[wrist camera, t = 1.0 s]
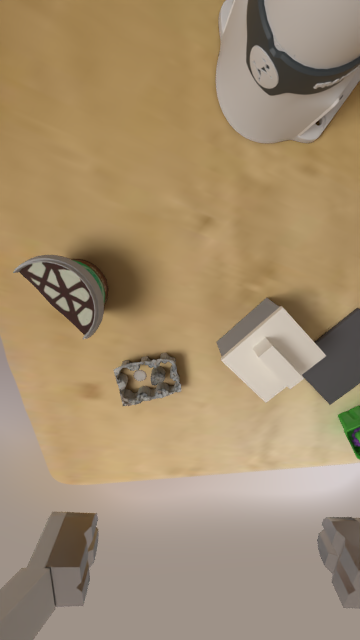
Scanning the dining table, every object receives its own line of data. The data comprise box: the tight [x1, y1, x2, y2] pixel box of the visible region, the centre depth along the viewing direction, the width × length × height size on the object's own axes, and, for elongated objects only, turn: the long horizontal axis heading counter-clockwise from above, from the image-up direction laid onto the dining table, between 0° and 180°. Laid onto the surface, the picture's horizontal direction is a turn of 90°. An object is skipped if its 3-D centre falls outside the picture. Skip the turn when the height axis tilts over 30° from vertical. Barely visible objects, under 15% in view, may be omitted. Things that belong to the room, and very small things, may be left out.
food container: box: [13, 255, 108, 339], centre depth 37 cm, size 12×6×10 cm, turn 40°
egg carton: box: [114, 353, 181, 406], centre depth 46 cm, size 11×8×4 cm
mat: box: [302, 308, 360, 405], centre depth 47 cm, size 14×12×1 cm
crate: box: [217, 298, 279, 356], centre depth 43 cm, size 11×10×6 cm
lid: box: [221, 306, 326, 402], centre depth 39 cm, size 11×10×5 cm
